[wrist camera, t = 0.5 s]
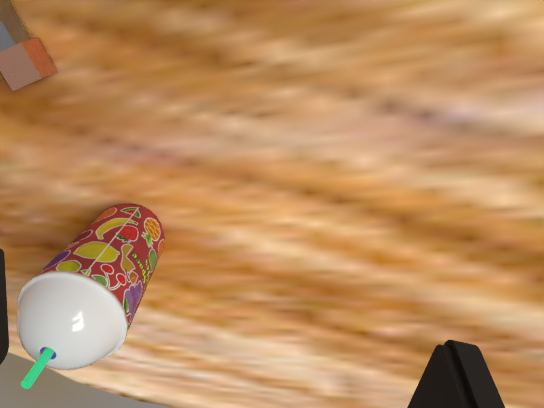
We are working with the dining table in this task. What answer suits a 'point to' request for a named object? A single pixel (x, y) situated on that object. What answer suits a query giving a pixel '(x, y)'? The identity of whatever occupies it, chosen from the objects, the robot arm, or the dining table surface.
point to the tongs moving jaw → (20, 51)
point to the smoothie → (89, 291)
